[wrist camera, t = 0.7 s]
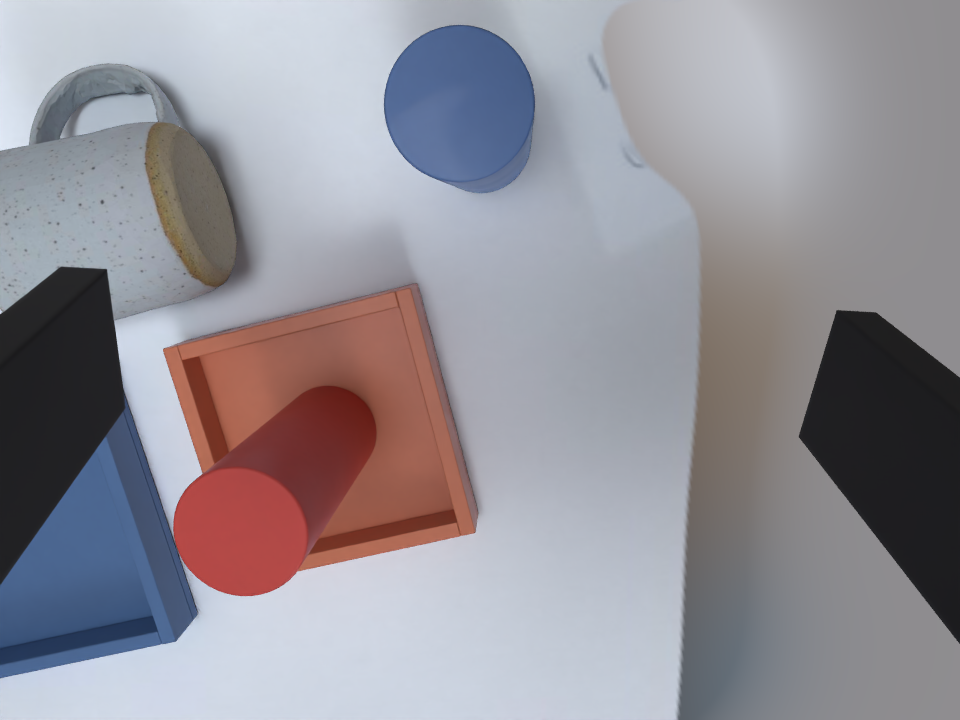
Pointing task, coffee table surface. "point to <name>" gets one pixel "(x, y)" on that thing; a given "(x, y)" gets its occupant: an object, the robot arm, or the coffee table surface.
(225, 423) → the orange tray
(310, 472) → the red peg
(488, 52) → the blue peg
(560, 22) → the coffee table surface
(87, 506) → the blue tray
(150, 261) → the ceramic mug
